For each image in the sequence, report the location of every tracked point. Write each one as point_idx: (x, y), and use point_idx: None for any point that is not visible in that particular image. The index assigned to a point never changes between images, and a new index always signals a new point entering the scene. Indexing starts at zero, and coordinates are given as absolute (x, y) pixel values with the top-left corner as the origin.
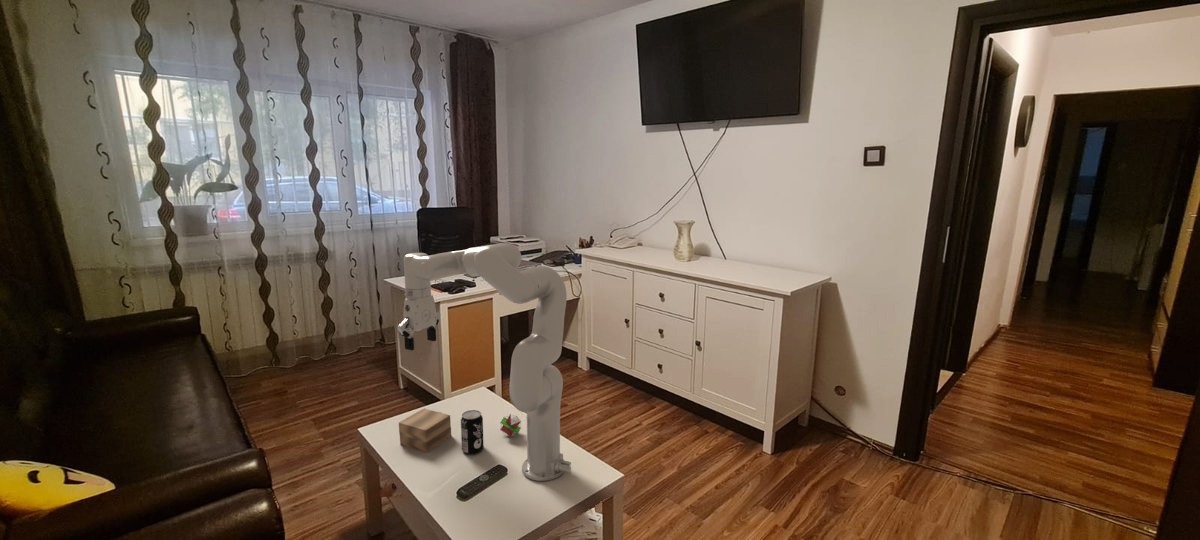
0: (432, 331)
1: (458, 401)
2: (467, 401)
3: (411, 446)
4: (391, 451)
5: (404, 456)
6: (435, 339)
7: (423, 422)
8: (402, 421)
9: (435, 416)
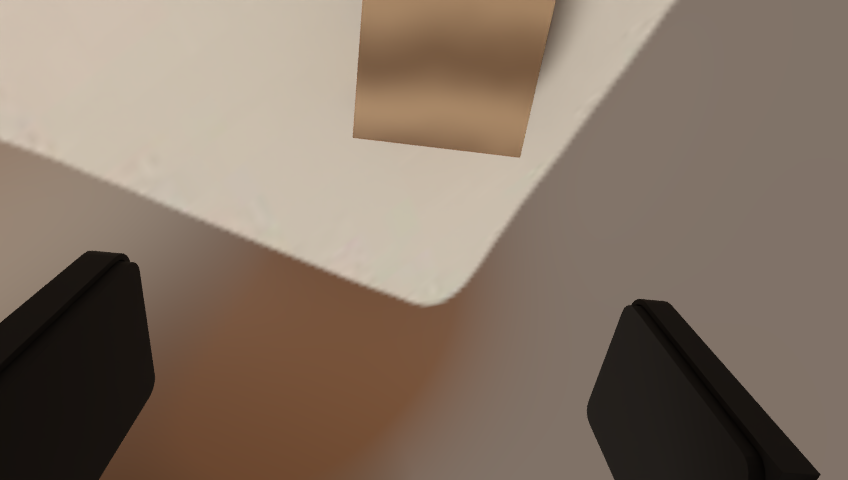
0: (16, 432)
1: (68, 133)
2: (39, 91)
3: None
4: (547, 128)
5: (570, 54)
6: (98, 262)
7: (488, 39)
8: (506, 148)
9: (409, 18)
